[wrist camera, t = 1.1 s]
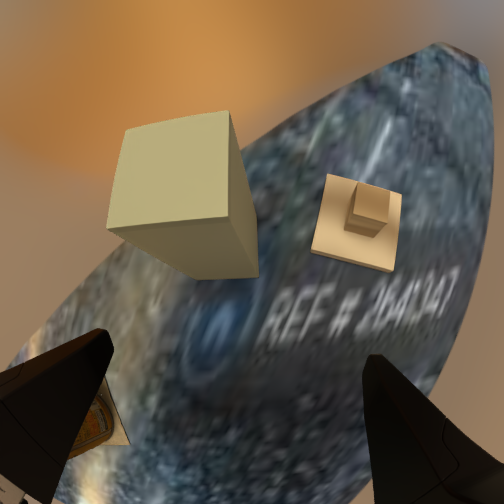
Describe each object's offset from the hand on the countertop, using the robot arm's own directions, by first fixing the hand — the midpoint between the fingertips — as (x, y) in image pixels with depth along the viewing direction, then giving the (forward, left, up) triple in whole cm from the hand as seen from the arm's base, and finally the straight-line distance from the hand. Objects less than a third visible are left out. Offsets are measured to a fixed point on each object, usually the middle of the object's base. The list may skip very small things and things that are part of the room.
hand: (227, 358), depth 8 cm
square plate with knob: (+12, -2, -13) cm, 18 cm away
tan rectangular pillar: (+5, +6, -13) cm, 15 cm away
